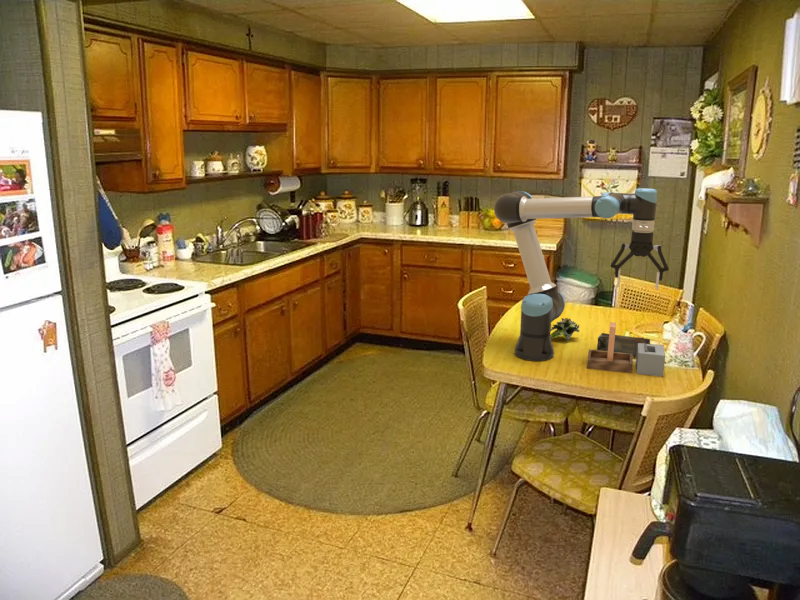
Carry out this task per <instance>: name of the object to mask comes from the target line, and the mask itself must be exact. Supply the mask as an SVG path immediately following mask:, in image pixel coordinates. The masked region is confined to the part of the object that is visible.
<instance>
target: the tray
mask: <svg viewBox="0 0 800 600" xmlns="http://www.w3.org/2000/svg"><path fill="white" fill-rule="evenodd" d="M587 352H588V354H587V361H586V369H590V370H598V371H608V372H616V373H617V372H619V373H625V374H627V373H628V374H633V369H634V360H633V359H634V358H633V357H634V356H633V354H629V353H619V352H614V353H613V361H607V354H608V351H599V350H597V349H588V351H587Z"/></svg>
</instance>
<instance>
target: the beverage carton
mask: <svg viewBox="0 0 800 600" xmlns="http://www.w3.org/2000/svg"><path fill="white" fill-rule="evenodd" d="M608 343H609V333H605V332H601V334H600V335H599V336H598V337H597V346H596V347H597V348H596V350H599V351H608ZM638 343H643V344H651V339H650V338H646V337H645V338H644V337H636V336H629V335H628V336H627V335H620V334H615V342H614V352H619V353H629V354H633V357H635V358H636V356H637V346H638Z"/></svg>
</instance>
